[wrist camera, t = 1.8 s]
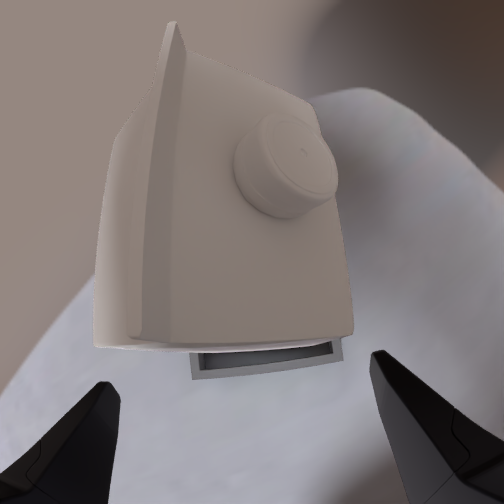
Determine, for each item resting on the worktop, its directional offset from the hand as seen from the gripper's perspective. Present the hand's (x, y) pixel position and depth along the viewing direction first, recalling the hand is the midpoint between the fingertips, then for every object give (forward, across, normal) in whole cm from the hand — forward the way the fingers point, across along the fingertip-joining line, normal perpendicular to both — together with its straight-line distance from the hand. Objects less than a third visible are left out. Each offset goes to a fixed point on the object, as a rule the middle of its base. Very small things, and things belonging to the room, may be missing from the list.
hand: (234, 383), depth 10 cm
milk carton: (+12, 0, +6) cm, 13 cm away
